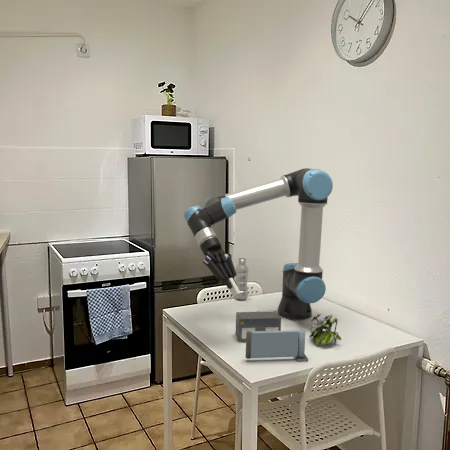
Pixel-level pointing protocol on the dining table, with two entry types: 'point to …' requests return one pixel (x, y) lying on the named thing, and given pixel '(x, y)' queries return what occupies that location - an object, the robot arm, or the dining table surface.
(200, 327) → the dining table surface
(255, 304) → the dining table surface
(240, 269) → the plastic bottle
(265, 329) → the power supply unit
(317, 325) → the passion flower
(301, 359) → the arm mount
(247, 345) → the blue-grey flat panel
